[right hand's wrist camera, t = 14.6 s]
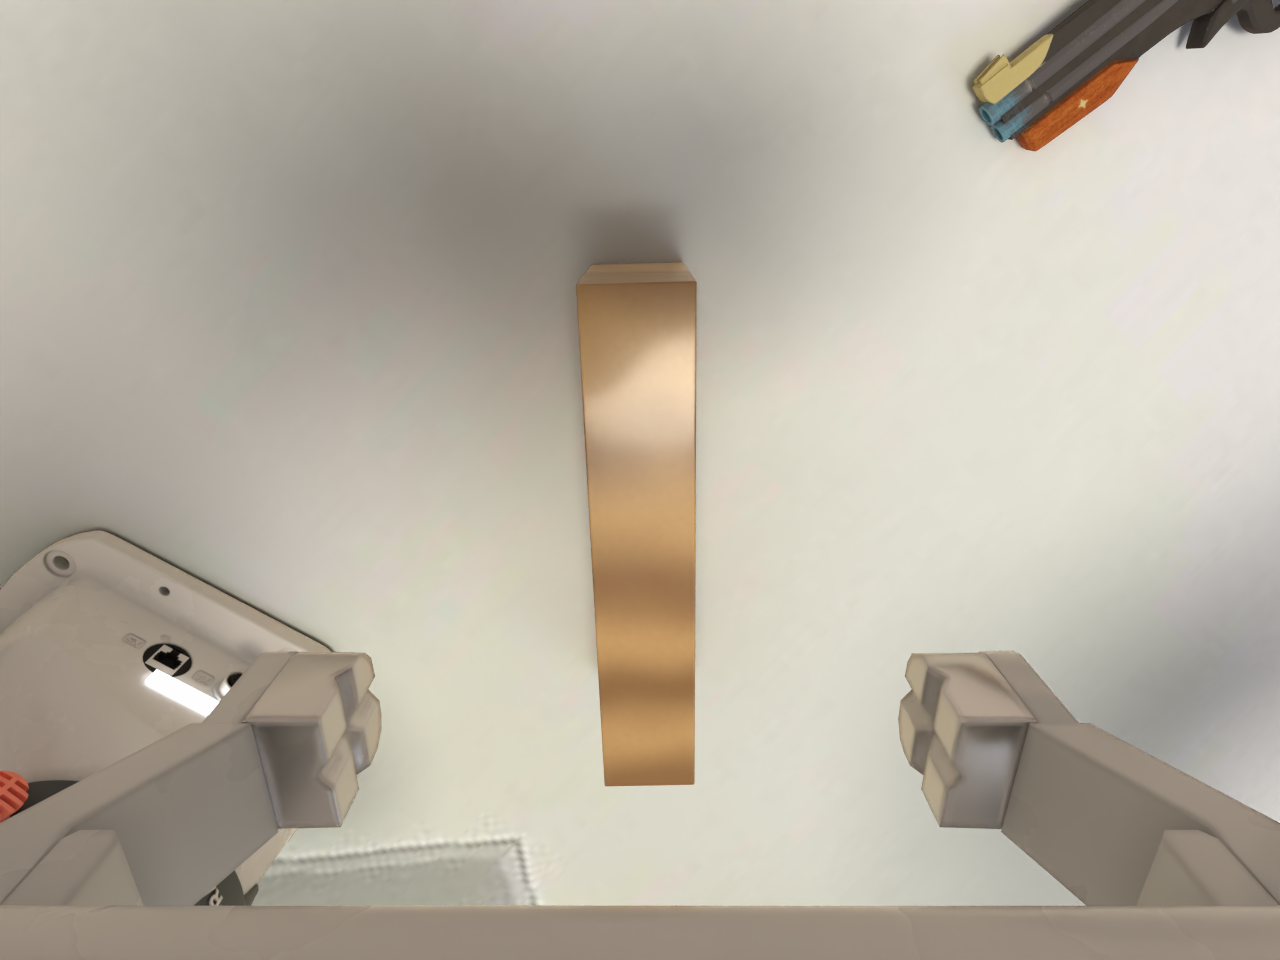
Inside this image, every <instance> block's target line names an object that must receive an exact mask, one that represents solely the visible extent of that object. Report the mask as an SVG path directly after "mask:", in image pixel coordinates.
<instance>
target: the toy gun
mask: <svg viewBox="0 0 1280 960" xmlns="http://www.w3.org/2000/svg"><path fill="white" fill-rule="evenodd" d="M1236 13H1237V16H1238V19H1239V23H1240V25H1241V26H1242V28H1243V29H1244V30H1246V31H1248V32H1250V33H1253V34H1258V33H1269V32H1272V31H1274V30H1276V29H1278V28H1279V27H1280V5H1278V6H1277V7H1275V8H1274V9H1273V6H1272V1H1271V0H1089V1H1088V2H1087V3H1085V4H1084V5H1083V6H1082V7H1080V8H1079V9H1078V10H1077V11H1076V12H1074V13H1073V14H1072V15H1071V16H1069V17H1068V18H1067V19H1066V20H1064V21H1063V22H1062V23H1061V24H1059V25H1058V26H1057V27H1056V28H1054V29H1053V30H1052V31H1051V32H1049V33H1048V34H1046V35H1044V36H1043V37H1041V38H1040V39H1039V40H1037V41H1036V42H1035V43H1033V44H1032V45H1031V46H1030V47H1028V48H1027V49H1026V50H1025V51H1023V52H1022V53H1021V54H1020V55H1018V56H1017V57H1016V58H1015V59H1013V60H1012V61H1011V62H1010V63H1009V61H1008V59H1007V58H1006V56H1005V55H1003V56H1002V57H1000V55H997V56H996V57H995V58H994V59H993V60H992V62H991V63H990V64H989V65H988V66H987V67H986V68H985V69H984V70H983V71H982V72H981V73H980V74H979V76H978V77H977V78H976V79H975V80H974V83H975V85H974V86H973V87H972V88H973V90H974V92H975V94H976V96H977V97H978V98H979V99H980V101H982V102H984V104H983V105H982V106H981V107H980V108H979V113H980V115H981V117H982V118H983V120H984V121H985V122H986V123H987V124H988V125H990V126H992V128H991V129H992V132H993V134H994V135H995V137H996V138H997V139H998V140H999V141H1000V142H1004V141H1006V140H1007V139H1011V140H1013V139H1014V138H1015V137H1017V139H1018V141H1019V143H1020V145H1021V146H1022V147H1023V148H1024V149H1026V150H1031V151H1037V150H1039V149H1040V148H1042V147H1043V146H1045V145H1046V144H1047V143H1049V142H1050V141H1052V140H1053V139H1054V138H1056V137H1057V136H1058V135H1060V134H1061V133H1063V132H1064V131H1065V130H1067V129H1068V128H1070V127H1071V126H1072V125H1074V124H1075V123H1076V122H1078V121H1079V120H1081V119H1082V118H1083V117H1085V116H1086V115H1088V114H1089V113H1090V112H1092V111H1093V110H1094V109H1096V108H1097V107H1099V106H1100V105H1101V104H1103V103H1104V102H1105V101H1107V100H1108V99H1109V98H1110V97H1111V96H1112V95H1113V94H1114V93H1115V91H1116V90H1117V89H1118V87H1119V86H1120V85H1121V83H1122V82H1123V81H1124V79H1125V78H1126V76H1127V75H1128V74H1129V72H1130V71H1131V70H1132V68H1133V67H1134V65H1135V64H1136V63H1137V61H1138V60H1139V57H1140V56H1141V55H1142V54H1144V53H1145V52H1146V51H1148V50H1149V49H1150V48H1152V47H1153V46H1154V45H1156V44H1157V43H1158V42H1159V41H1161V40H1162V39H1163V38H1165V37H1166V36H1167V35H1169V34H1170V33H1171V32H1173V31H1174V30H1176V29H1177V28H1179V27H1180V26H1182V25H1184V24H1186V23H1187V22H1189V21H1191V20H1193V19H1194V22H1193V24H1192V27H1191V30H1190V33H1189V36H1188V40H1187V44H1186V49H1191V48H1204V47H1205V46H1206V45H1207V44H1208V43H1209V42H1210V40H1211V39H1212V38H1213V37H1214V36H1215V34H1216V33H1217V32H1218V31H1219V30H1220V29H1221V27H1222V26H1223V25H1224V24H1225V23H1226V22H1227V21H1228V20H1229V19H1230V18H1231V17H1232V16H1233V15H1235V14H1236Z"/></svg>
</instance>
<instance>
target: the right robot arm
mask: <svg viewBox="0 0 1280 960" xmlns="http://www.w3.org/2000/svg"><path fill="white" fill-rule="evenodd" d="M64 558H66V559H67V560H68V562H67V561H66V560H65V559H64ZM374 677H375V674H374V669H373V664H372V660H371V657H370V656H368V655H367V654H366V653H354V652H331V651H330V650H329V649H328V648H327V647H325V646H324V645H322V644H320V643H318V642H316V641H314V640H313V639H311V638H309V637H307V636H305V635H303V634H301V633H299V632H297V631H295V630H294V629H292V628H290V627H288V626H286V625H284V624H282V623H280V622H278V621H276V620H275V619H273V618H271V617H269V616H267V615H265V614H263V613H261V612H259V611H257V610H256V609H254V608H252V607H250V606H248V605H246V604H244V603H242V602H240V601H239V600H237V599H235V598H233V597H231V596H229V595H227V594H225V593H223V592H221V591H220V590H218V589H216V588H214V587H212V586H210V585H208V584H206V583H204V582H202V581H201V580H199V579H197V578H195V577H193V576H191V575H189V574H187V573H185V572H183V571H182V570H180V569H178V568H176V567H174V566H172V565H170V564H168V563H166V562H164V561H163V560H161V559H159V558H157V557H155V556H153V555H151V554H149V553H147V552H145V551H144V550H142V549H140V548H138V547H136V546H134V545H132V544H130V543H128V542H126V541H124V540H122V539H121V538H119V537H117V536H115V535H112V534H110V533H108V532H105V531H101V530H95V531H89V532H83V533H79V534H75V535H72V536H70V537H67V538H64V539H62V540H60V541H58V542H56V543H54V544H52V545H50V546H49V547H47V548H46V549H44V550H43V551H42V552H40V553H39V554H37V555H36V556H35V557H33V558H32V559H31V560H30V561H28V562H27V563H26V564H25V565H23V566H22V567H21V568H20V569H19V570H18V571H17V572H16V573H15V574H14V575H13V576H12V577H11V578H10V579H9V580H8V581H7V582H6V583H5V584H4V586H3V587H2V588H1V589H0V960H1280V823H1278V822H1277V821H1275V820H1273V819H1271V818H1269V817H1267V816H1265V815H1263V814H1261V813H1259V812H1258V811H1256V810H1254V809H1252V808H1250V807H1248V806H1246V805H1244V804H1242V803H1240V802H1238V801H1237V800H1235V799H1233V798H1231V797H1229V796H1227V795H1225V794H1223V793H1221V792H1219V791H1218V790H1216V789H1214V788H1212V787H1210V786H1208V785H1206V784H1204V783H1202V782H1200V781H1198V780H1197V779H1195V778H1193V777H1191V776H1189V775H1187V774H1185V773H1183V772H1181V771H1179V770H1178V769H1176V768H1174V767H1172V766H1170V765H1168V764H1166V763H1164V762H1162V761H1160V760H1158V759H1157V758H1155V757H1153V756H1151V755H1149V754H1147V753H1145V752H1143V751H1141V750H1139V749H1138V748H1136V747H1134V746H1132V745H1130V744H1128V743H1126V742H1124V741H1122V740H1120V739H1118V738H1117V737H1115V736H1113V735H1111V734H1109V733H1107V732H1105V731H1103V730H1101V729H1099V728H1098V727H1096V726H1094V725H1092V724H1090V723H1078V722H1077V721H1076V719H1075V718H1074V717H1073V716H1072V715H1071V713H1070V712H1069V711H1068V710H1067V709H1066V708H1065V706H1064V705H1063V704H1062V703H1061V702H1060V700H1059V699H1058V698H1057V697H1056V696H1055V695H1054V693H1053V692H1052V691H1051V690H1050V689H1049V687H1048V686H1047V685H1046V684H1045V683H1044V682H1043V680H1042V679H1041V678H1040V677H1039V676H1038V674H1037V673H1036V672H1035V671H1034V670H1033V668H1032V667H1031V666H1030V665H1029V664H1028V663H1027V661H1026V660H1025V659H1024V658H1023V657H1022V655H1020V654H1018V653H1016V652H1014V651H991V652H979V653H912V655H911V657H910V658H909V660H908V663H907V668H906V674H905V677H906V679H907V681H908V683H909V685H910V686H911V688H912V690H911V691H910V692H909V693H908V694H907V695H906V696H905V697H904V698H903V699H902V700H901V703H900V711H899V718H898V720H899V733H900V740H901V743H902V747H903V751H904V753H905V756H906V758H907V760H908V762H909V764H910V766H912V767H913V768H914V769H916V770H917V771H919V772H920V773H921V774H923V775H924V777H923V783H922V788H921V790H922V792H923V794H924V796H925V798H926V800H927V802H928V804H929V806H930V808H931V810H932V812H933V814H934V816H935V818H936V820H937V823H938V825H939V827H955V828H990V829H1002V831H1001V832H1002V833H1003V834H1004V835H1006V836H1007V837H1008V838H1009V839H1010V840H1011V841H1013V842H1014V843H1015V844H1016V845H1017V846H1018V847H1020V848H1021V849H1022V850H1023V851H1024V852H1025V853H1026V854H1028V855H1029V856H1030V857H1031V858H1032V859H1033V860H1035V861H1036V862H1037V863H1038V864H1039V865H1040V866H1042V867H1043V868H1044V869H1045V870H1046V871H1047V872H1048V873H1050V874H1051V875H1052V876H1053V877H1054V878H1055V879H1057V880H1058V881H1059V882H1060V883H1061V884H1062V885H1064V886H1065V887H1066V888H1067V889H1068V890H1069V891H1070V892H1072V893H1073V894H1074V895H1075V896H1076V897H1077V898H1079V899H1080V900H1081V901H1082V902H1083V903H1084V904H1086V905H1087V906H251V904H252V902H253V900H254V898H255V896H256V894H257V892H258V883H259V881H260V880H261V878H262V877H263V875H264V874H265V872H266V871H267V869H268V868H269V866H270V865H271V863H272V862H273V861H274V859H275V858H276V856H277V855H278V854H279V852H280V851H281V850H282V848H283V847H284V845H285V844H286V843H287V841H288V840H289V839H290V838H291V836H292V835H293V834H294V833H295V831H296V830H297V829H298V828H324V827H341V825H342V823H343V821H344V819H345V816H346V814H347V812H348V810H349V808H350V806H351V804H352V802H353V800H354V798H355V796H356V794H357V792H358V790H359V788H358V783H357V777H356V775H357V774H359V773H360V772H361V771H363V770H364V769H366V768H367V767H368V766H370V764H371V762H372V760H373V758H374V755H375V753H376V751H377V748H378V743H379V738H380V733H381V709H380V703H379V700H378V699H377V698H376V697H375V696H374V695H373V694H372V693H371V692H370V691H369V690H368V688H369V686H370V684H371V683H372V681H373V679H374Z"/></svg>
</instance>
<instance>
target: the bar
mask: <svg viewBox="0 0 1280 960" xmlns="http://www.w3.org/2000/svg"><path fill="white" fill-rule="evenodd" d="M576 295H577V312H578V329H579V347H580V364H581V381H582V399H583V416H584V433H585V451H586V468H587V485H588V503H589V520H590V537H591V555H592V572H593V589H594V607H595V624H596V642H597V659H598V676H599V694H600V711H601V728H602V746H603V763H604V780H605V786H645V785H693V784H694V764H695V520H696V281H695V279H694V278H693V276H692V275H691V273H690V272H689V271H688V269H687V268H686V266H685V265H684V263H683V262H675V263H637V264H600V265H591V266H590V267H589V269H588V270H587V271H586V273H585V274H584V275H583V277H582V278H581V279H580V281H579V282H578V283H577V285H576Z"/></svg>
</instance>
